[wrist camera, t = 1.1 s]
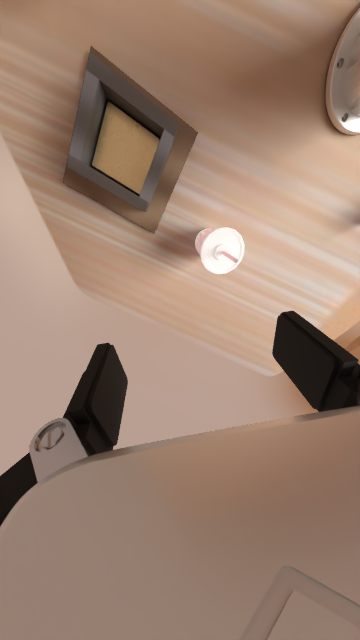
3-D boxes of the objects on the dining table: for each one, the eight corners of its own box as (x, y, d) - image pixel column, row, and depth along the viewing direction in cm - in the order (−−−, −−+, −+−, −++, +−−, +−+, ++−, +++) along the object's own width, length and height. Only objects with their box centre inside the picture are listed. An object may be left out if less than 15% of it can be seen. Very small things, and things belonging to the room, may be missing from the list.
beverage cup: (183, 241, 33) (198, 259, 21) (211, 214, 31) (244, 217, 19) (204, 266, 36) (229, 296, 24) (231, 243, 34) (271, 261, 22)
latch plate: (110, 105, 22) (108, 100, 21) (160, 142, 24) (160, 139, 23) (94, 166, 24) (91, 164, 24) (140, 195, 26) (139, 194, 26)
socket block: (93, 52, 22) (68, -9, 16) (196, 135, 26) (208, 112, 20) (65, 183, 27) (39, 175, 21) (154, 232, 32) (153, 238, 26)
